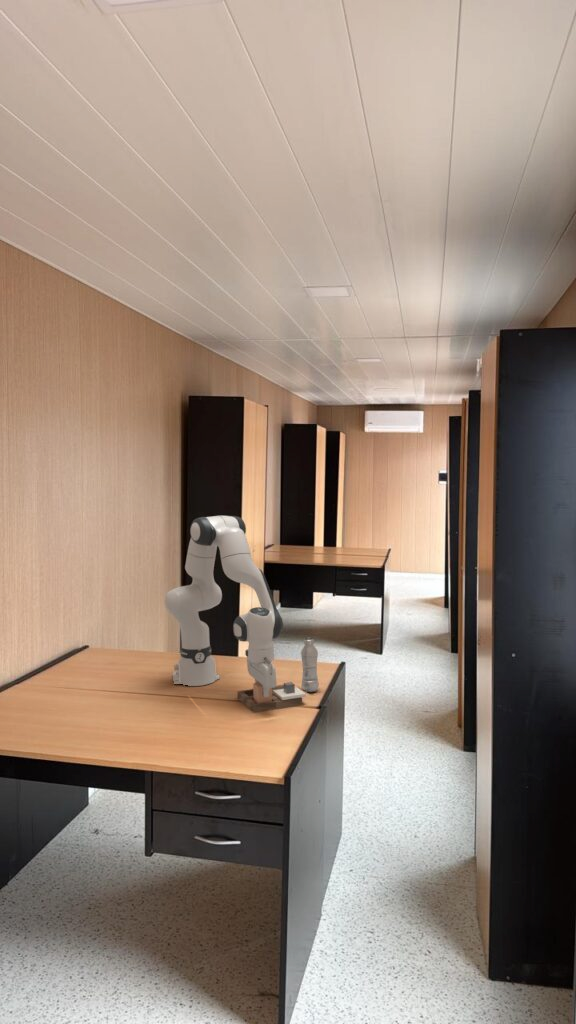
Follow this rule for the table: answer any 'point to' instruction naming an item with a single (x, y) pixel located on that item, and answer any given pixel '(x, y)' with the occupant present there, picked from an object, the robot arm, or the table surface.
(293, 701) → the board
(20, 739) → the table surface
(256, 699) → the block
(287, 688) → the lid
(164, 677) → the table surface
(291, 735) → the table surface
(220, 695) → the table surface
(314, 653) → the plastic bottle
